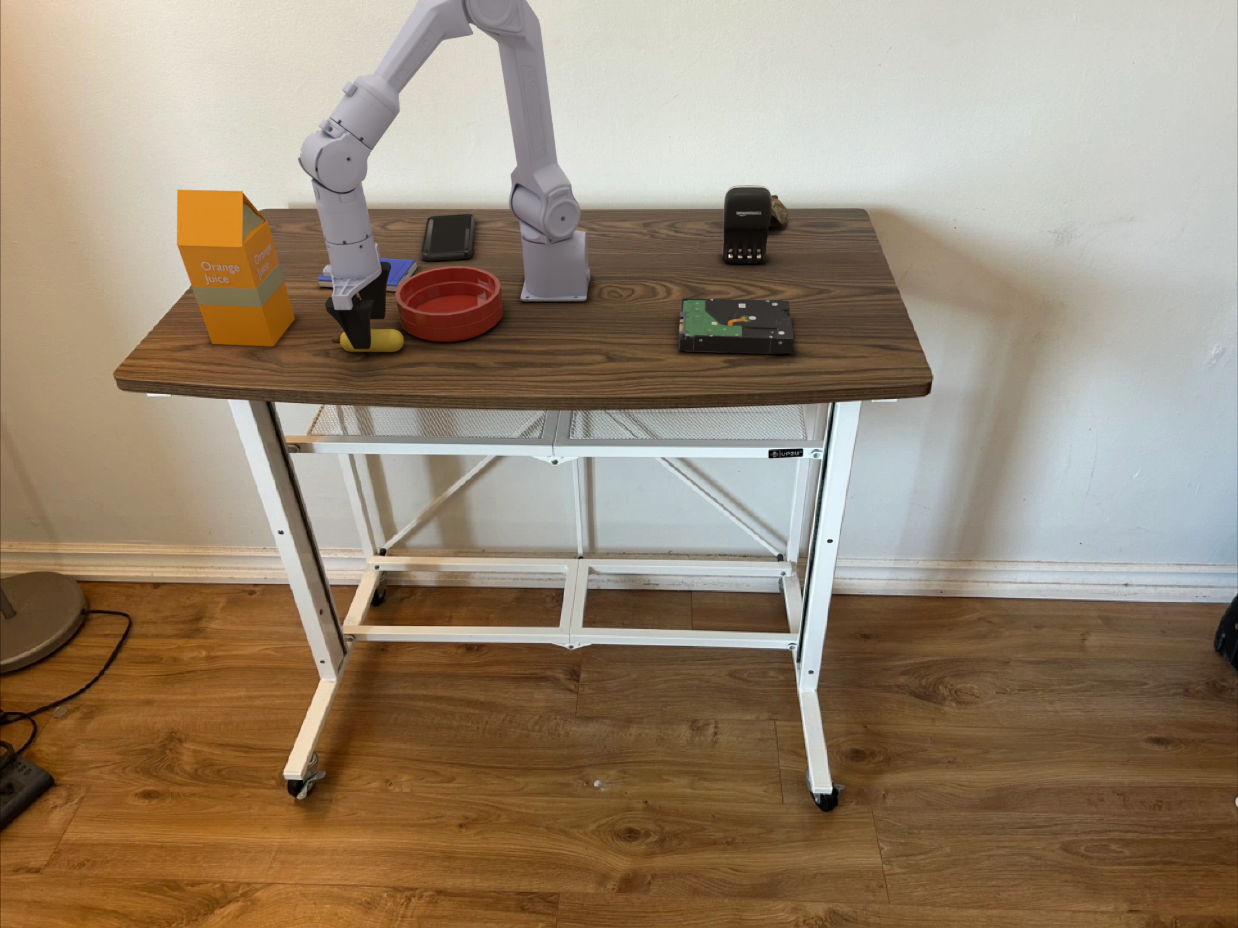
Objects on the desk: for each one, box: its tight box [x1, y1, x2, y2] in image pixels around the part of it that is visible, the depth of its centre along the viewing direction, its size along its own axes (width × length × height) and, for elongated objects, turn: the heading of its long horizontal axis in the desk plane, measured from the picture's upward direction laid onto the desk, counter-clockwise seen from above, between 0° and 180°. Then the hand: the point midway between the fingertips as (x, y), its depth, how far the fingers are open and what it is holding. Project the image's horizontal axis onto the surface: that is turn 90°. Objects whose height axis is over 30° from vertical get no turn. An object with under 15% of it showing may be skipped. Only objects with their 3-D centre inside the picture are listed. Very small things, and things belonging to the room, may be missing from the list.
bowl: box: [394, 265, 504, 343], centre depth 123 cm, size 14×14×4 cm
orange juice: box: [176, 189, 296, 347], centre depth 117 cm, size 8×9×20 cm
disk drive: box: [678, 297, 795, 355], centre depth 119 cm, size 10×3×15 cm
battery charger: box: [721, 184, 772, 265], centre depth 133 cm, size 7×4×11 cm, turn 87°
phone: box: [420, 213, 476, 262], centre depth 144 cm, size 8×1×15 cm
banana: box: [331, 328, 405, 353], centre depth 117 cm, size 9×3×3 cm, turn 88°
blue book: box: [317, 257, 418, 292], centre depth 134 cm, size 2×8×12 cm
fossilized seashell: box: [769, 194, 789, 228], centre depth 145 cm, size 8×7×10 cm
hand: (369, 332), depth 116 cm, fingers open, 7 cm apart
